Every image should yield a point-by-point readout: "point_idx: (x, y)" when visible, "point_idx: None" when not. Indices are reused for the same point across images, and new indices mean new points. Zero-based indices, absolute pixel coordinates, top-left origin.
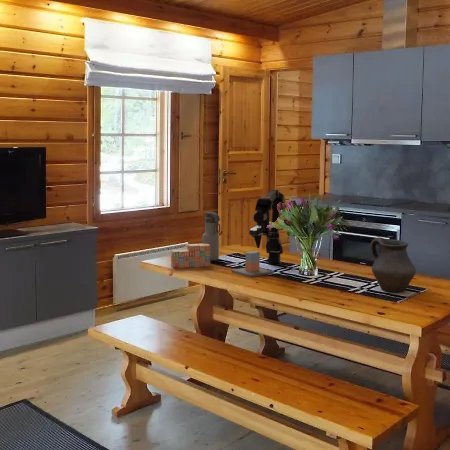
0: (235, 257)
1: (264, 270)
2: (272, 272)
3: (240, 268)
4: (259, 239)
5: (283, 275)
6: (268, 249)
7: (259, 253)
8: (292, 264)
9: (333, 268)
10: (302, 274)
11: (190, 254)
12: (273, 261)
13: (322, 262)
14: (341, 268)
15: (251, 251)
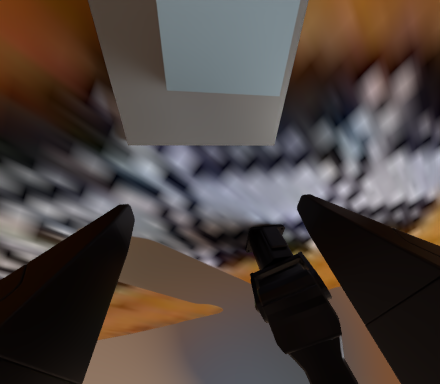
0: (403, 202)
1: (166, 117)
2: (127, 136)
3: (301, 26)
4: (374, 297)
5: (65, 150)
6: (123, 208)
7: (168, 86)
8: (221, 263)
9: (123, 302)
10: (65, 221)
11: None
12: (260, 237)
13: (194, 305)
14: (116, 311)
15: (291, 27)
